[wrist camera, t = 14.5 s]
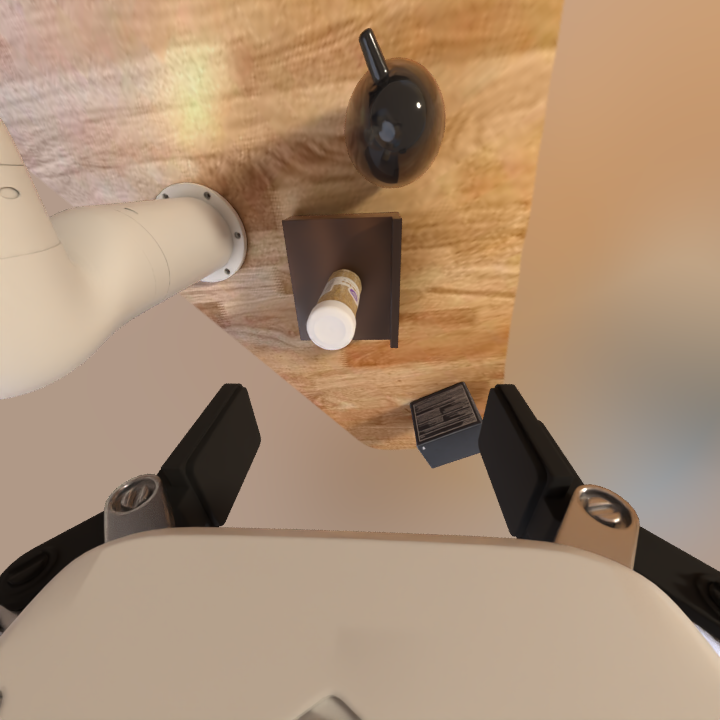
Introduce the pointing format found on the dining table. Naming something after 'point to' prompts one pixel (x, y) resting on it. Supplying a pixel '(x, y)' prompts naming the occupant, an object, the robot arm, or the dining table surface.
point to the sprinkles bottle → (335, 311)
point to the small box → (446, 425)
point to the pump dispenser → (393, 118)
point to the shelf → (348, 266)
